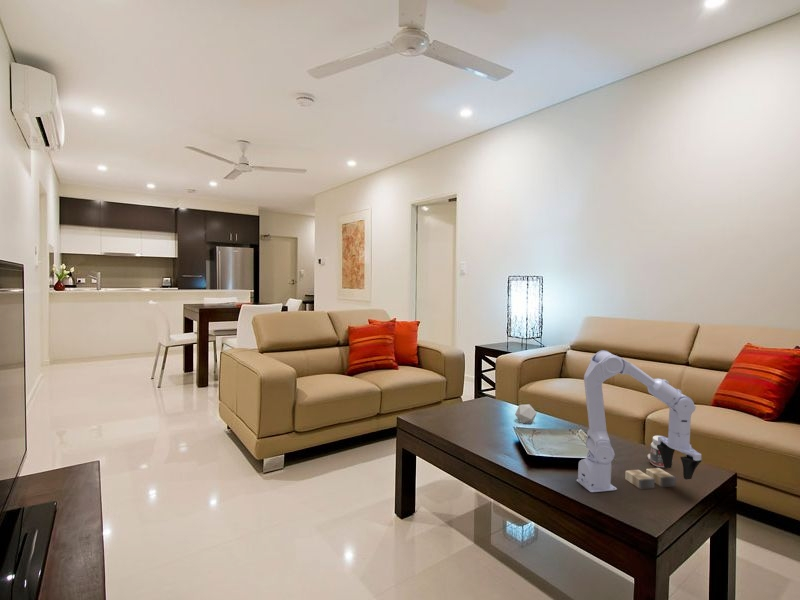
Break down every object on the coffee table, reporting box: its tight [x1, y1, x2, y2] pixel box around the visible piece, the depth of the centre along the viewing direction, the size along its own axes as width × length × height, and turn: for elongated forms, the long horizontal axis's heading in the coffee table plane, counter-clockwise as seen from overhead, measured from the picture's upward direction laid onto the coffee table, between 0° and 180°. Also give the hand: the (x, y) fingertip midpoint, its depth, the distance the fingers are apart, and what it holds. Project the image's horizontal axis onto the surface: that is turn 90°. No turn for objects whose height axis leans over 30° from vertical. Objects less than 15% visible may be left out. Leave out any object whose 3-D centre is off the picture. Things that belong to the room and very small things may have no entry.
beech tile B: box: [645, 467, 677, 488], centre depth 138 cm, size 5×3×7 cm
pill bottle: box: [649, 435, 664, 468], centre depth 150 cm, size 6×6×10 cm
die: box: [514, 403, 537, 424], centre depth 195 cm, size 8×9×10 cm
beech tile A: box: [624, 469, 655, 490], centre depth 137 cm, size 5×3×7 cm
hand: (677, 473), depth 131 cm, fingers open, 7 cm apart
